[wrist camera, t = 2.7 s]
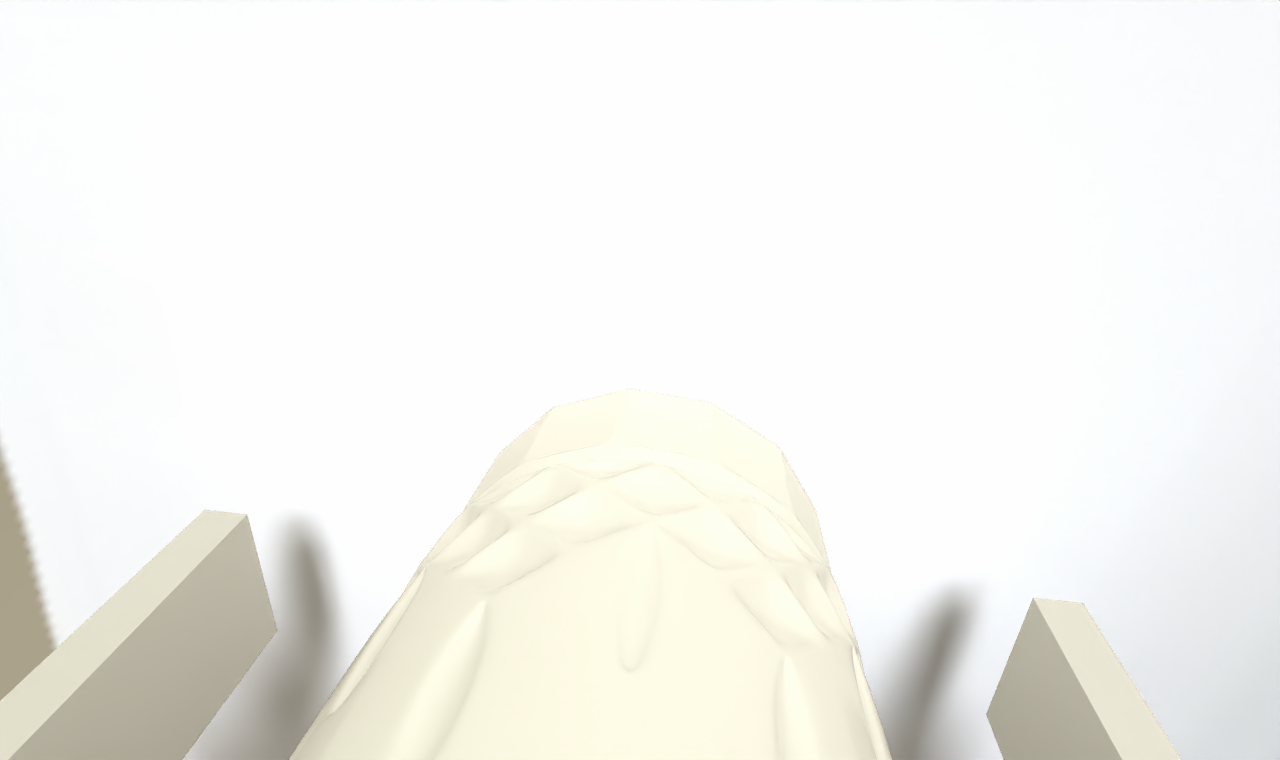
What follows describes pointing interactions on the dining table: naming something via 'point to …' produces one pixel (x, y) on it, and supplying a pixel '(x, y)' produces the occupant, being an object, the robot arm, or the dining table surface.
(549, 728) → the white cup
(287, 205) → the dining table surface
